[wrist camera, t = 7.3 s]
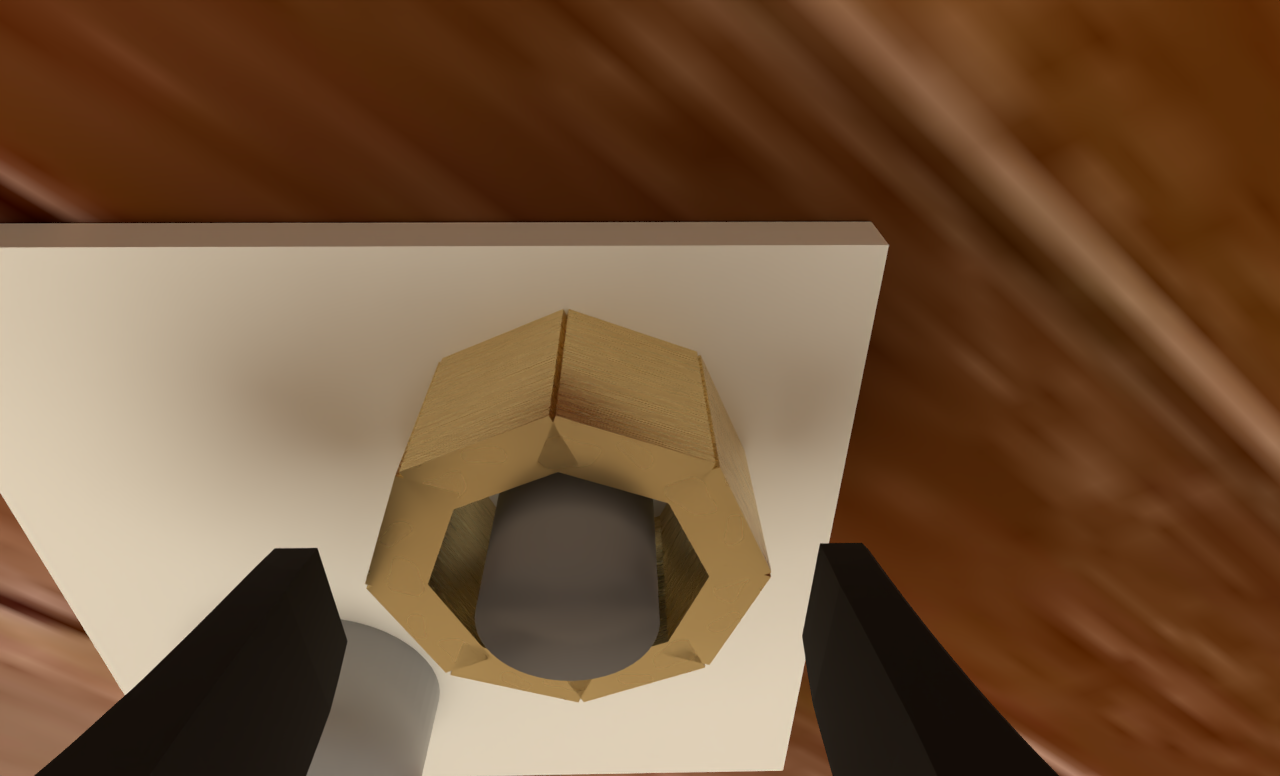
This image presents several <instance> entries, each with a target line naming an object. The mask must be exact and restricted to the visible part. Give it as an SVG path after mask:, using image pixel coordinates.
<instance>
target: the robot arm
mask: <svg viewBox="0 0 1280 776" xmlns="http://www.w3.org/2000/svg"><path fill="white" fill-rule="evenodd" d="M802 639H803V646H804V652H805V659H806V665H807V671H808V677H809V683H810V689H811V695H812V701H813V706H814V710H815V713H816V717H817V721H818V724H819V728H820V732H821V735H822V739H823V743H824V746H825V750H826V753H827V757H828V761H829V764H830V768H831V771H832V775H833V776H1059V775H1058V774H1057V773H1056V772H1055V771H1054V770H1053V769H1052V768H1051V767H1050V766H1049V765H1048V764H1047V763H1046V762H1045V761H1044V760H1043V759H1042V758H1041V757H1040V756H1039V755H1038V754H1037V753H1036V752H1035V751H1034V749H1033V748H1032V747H1031V746H1030V745H1029V744H1028V743H1027V742H1026V741H1025V740H1024V739H1023V738H1022V737H1021V736H1020V735H1019V734H1018V733H1017V731H1016V730H1015V729H1014V728H1013V727H1012V726H1011V725H1010V724H1009V723H1008V722H1007V720H1006V719H1005V718H1004V717H1003V716H1002V715H1001V714H1000V713H999V712H998V711H997V710H996V708H995V707H994V706H993V705H992V704H991V703H990V702H989V701H988V700H987V698H986V697H985V696H984V695H983V694H982V693H981V692H980V690H979V689H978V688H977V687H976V686H975V685H974V683H973V682H972V681H971V680H970V679H969V678H968V676H967V675H966V674H965V673H964V672H963V670H962V669H961V668H960V667H959V666H958V664H957V663H956V662H955V661H954V660H953V658H952V657H951V656H950V655H949V654H948V652H947V651H946V650H945V649H944V648H943V646H942V645H941V644H940V643H939V642H938V640H937V639H936V638H935V637H934V635H933V634H932V633H931V632H930V630H929V629H928V628H927V627H926V625H925V624H924V623H923V622H922V620H921V619H920V618H919V616H918V615H917V614H916V613H915V611H914V610H913V609H912V607H911V606H910V605H909V604H908V602H907V601H906V600H905V598H904V597H903V596H902V594H901V593H900V592H899V590H898V589H897V588H896V586H895V585H894V584H893V582H892V581H891V580H890V578H889V577H888V576H887V574H886V573H885V572H884V570H883V569H882V568H881V566H880V565H879V563H878V562H877V561H876V559H875V558H874V557H873V555H872V554H871V552H870V551H869V550H868V549H867V548H866V547H865V546H864V545H863V544H862V543H820V545H819V551H818V556H817V561H816V566H815V571H814V576H813V582H812V587H811V592H810V597H809V602H808V608H807V613H806V618H805V623H804V628H803V633H802ZM347 642H348V641H347V638H346V635H345V632H344V628H343V625H342V622H341V619H340V616H339V613H338V610H337V607H336V604H335V601H334V598H333V594H332V591H331V588H330V585H329V582H328V579H327V576H326V573H325V570H324V567H323V564H322V560H321V557H320V554H319V551H318V548H274V549H273V550H272V551H271V552H270V553H269V554H268V555H267V556H266V557H265V558H264V559H263V560H262V561H261V562H260V563H259V564H258V565H257V566H256V567H255V568H254V569H253V570H252V571H251V572H250V573H249V574H248V575H247V576H246V577H245V578H244V579H243V580H242V581H241V582H240V583H239V584H238V585H237V586H236V587H235V588H234V589H233V590H232V591H231V592H230V593H229V594H228V595H227V596H226V597H225V598H224V599H223V600H222V601H221V602H220V603H219V604H218V605H217V606H216V607H215V608H214V609H213V610H212V611H211V612H210V613H209V614H208V615H207V616H206V617H205V618H204V619H203V620H202V621H201V622H200V623H199V624H198V625H197V626H196V627H195V628H194V629H193V630H192V631H191V632H190V633H189V634H188V635H187V636H186V637H185V638H184V639H183V640H182V641H181V642H180V643H179V644H178V645H177V646H176V647H175V648H174V649H173V650H172V651H171V652H170V653H169V654H168V655H167V656H166V657H165V658H164V659H163V660H162V661H161V662H160V663H159V664H158V665H157V666H156V667H155V668H153V669H152V670H151V671H150V672H149V673H148V674H147V675H146V676H145V677H144V678H143V679H142V680H141V681H140V682H139V683H138V684H137V685H136V686H135V687H134V688H133V689H132V690H130V691H129V692H128V693H127V694H126V695H125V696H124V697H123V698H122V699H121V700H119V701H118V702H117V703H116V704H115V705H114V706H113V707H112V708H111V709H110V710H108V711H107V712H106V713H105V714H104V715H103V716H102V717H101V718H100V719H99V720H97V721H96V722H95V723H94V724H93V725H92V726H91V727H90V728H89V729H88V730H86V731H85V732H84V733H83V734H82V735H81V736H80V737H79V738H78V739H77V740H75V741H74V742H73V743H72V744H71V745H70V746H69V747H67V748H66V749H65V750H64V751H63V752H62V753H60V754H59V755H58V756H57V757H56V758H55V759H53V760H52V761H51V762H50V763H49V764H48V765H46V766H45V767H44V768H43V769H42V770H40V771H39V772H38V773H37V774H36V775H35V776H306V775H307V773H308V770H309V767H310V765H311V762H312V759H313V757H314V754H315V751H316V749H317V746H318V743H319V741H320V738H321V735H322V733H323V730H324V727H325V724H326V722H327V719H328V716H329V713H330V711H331V707H332V703H333V699H334V695H335V691H336V688H337V684H338V680H339V676H340V672H341V667H342V663H343V659H344V654H345V650H346V646H347Z"/></svg>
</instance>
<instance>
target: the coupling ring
mask: <svg viewBox="0 0 1280 776" xmlns="http://www.w3.org/2000/svg"><path fill="white" fill-rule="evenodd" d="M557 472H560V473H563V474H567V475H570V476H574V477H577V478H581V479H584V480H588V481H591V482H595V483H599V484H602V485H606V486H609V487H613V488H616V489H620V490H623V491H627V492H630V493H634V494H637V495H641V496H645V497H648V498H652V499H655V500H659V501H662V502H666V503H667V504H666V506H665V508H664V509H663V511H662V513H661V515H660V516H658V517H655V518H654V522H655V541H656V560H657V578H658V597H659V616H660V626H659V632H658V635H657V638H656V640H655V642H654V643H653V645H652V647H651V648H650V649H649V650H648V652H647V653H646V654H645V655H644V656H643V657H642V658H640V659H639V660H638V661H636V662H635V663H634V664H632V665H630V666H629V667H627V668H625V669H623V670H621V671H618V672H616V673H613V674H610V675H607V676H604V677H599V678H595V679H588V680H578V681H560V680H551V679H545V678H540V677H536V676H532V675H528V674H526V673H523V672H520V671H518V670H516V669H514V668H512V667H510V666H508V665H506V664H505V663H503V662H501V661H500V660H499V659H497V658H496V657H495V656H494V655H492V653H491V652H490V651H489V650H488V649H487V648H486V647H485V645H484V644H483V643H482V641H481V639H480V637H479V635H478V633H477V630H476V626H475V611H476V605H477V600H478V595H479V590H480V585H481V580H482V575H483V570H484V565H485V560H486V555H487V550H488V545H489V540H490V535H491V530H492V525H493V521H494V516H495V511H496V506H495V505H494V503H493V502H492V501H491V499H490V498H489V497H490V496H492V495H495V494H498V493H501V492H503V491H506V490H509V489H512V488H515V487H517V486H520V485H523V484H526V483H529V482H531V481H534V480H537V479H540V478H543V477H545V476H548V475H551V474H554V473H557ZM770 573H771V568H770V564H769V559H768V555H767V550H766V545H765V541H764V536H763V532H762V527H761V523H760V518H759V514H758V509H757V505H756V500H755V496H754V491H753V487H752V482H751V478H750V473H749V468H748V464H747V459H746V455H745V451H744V449H743V446H742V444H741V442H740V440H739V438H738V435H737V433H736V431H735V429H734V427H733V424H732V422H731V420H730V418H729V416H728V413H727V411H726V409H725V407H724V405H723V403H722V400H721V398H720V396H719V394H718V392H717V389H716V387H715V385H714V383H713V381H712V378H711V376H710V374H709V372H708V370H707V367H706V365H705V363H704V361H703V359H702V357H701V355H699V356H698V355H697V351H694V350H691V349H688V348H685V347H682V346H679V345H676V344H673V343H670V342H667V341H664V340H661V339H658V338H655V337H652V336H649V335H646V334H643V333H640V332H637V331H634V330H631V329H628V328H625V327H622V326H619V325H616V324H613V323H610V322H607V321H604V320H601V319H598V318H595V317H592V316H589V315H586V314H583V313H580V312H577V311H574V310H571V309H569V310H568V313H567V315H566V313H565V311H564V310H563V309H562V310H560V311H557V312H555V313H552V314H550V315H547V316H545V317H542V318H540V319H538V320H535V321H533V322H530V323H528V324H525V325H523V326H520V327H518V328H515V329H513V330H511V331H508V332H506V333H503V334H501V335H498V336H496V337H493V338H491V339H488V340H486V341H483V342H481V343H479V344H476V345H474V346H471V347H469V348H466V349H464V350H461V351H459V352H456V353H454V354H452V355H449V356H447V357H444V358H442V360H441V362H439V363H438V365H437V368H436V370H435V373H434V376H433V378H432V381H431V383H430V386H429V389H428V391H427V394H426V396H425V399H424V402H423V404H422V407H421V409H420V412H419V415H418V417H417V420H416V422H415V425H414V428H413V430H412V433H411V436H410V438H409V441H408V443H407V446H406V449H405V451H404V454H403V456H402V459H401V462H400V464H399V467H398V469H397V472H396V475H395V478H394V481H393V485H392V488H391V492H390V495H389V499H388V503H387V506H386V510H385V513H384V517H383V521H382V524H381V528H380V531H379V535H378V539H377V542H376V546H375V549H374V553H373V556H372V560H371V564H370V567H369V571H368V574H367V578H366V582H365V584H366V585H367V587H366V589H367V590H368V591H369V592H370V593H371V594H372V595H373V596H374V597H375V598H376V599H377V600H378V602H379V603H380V604H381V605H382V606H383V607H384V608H385V609H386V610H387V611H388V612H389V613H390V614H391V615H392V616H393V617H394V618H395V620H396V621H397V622H398V623H399V624H400V625H401V626H402V627H403V628H404V629H405V630H406V631H407V632H408V633H409V634H410V635H411V637H412V638H413V639H414V640H415V641H416V642H417V643H418V644H419V645H420V646H421V647H422V648H423V649H424V650H425V651H426V652H427V654H428V655H429V656H430V657H431V658H432V659H433V660H434V661H435V662H436V663H437V664H438V665H439V666H440V667H441V668H442V669H443V670H444V672H445V673H447V672H450V671H451V674H450V675H452V676H457V677H461V678H466V679H471V680H475V681H480V682H485V683H489V684H494V685H499V686H503V687H508V688H513V689H518V690H522V691H527V692H532V693H536V694H541V695H546V696H550V697H555V698H560V699H564V700H569V701H574V702H579V701H580V699H582V701H583V702H587V701H590V700H594V699H597V698H601V697H604V696H608V695H611V694H615V693H618V692H622V691H625V690H629V689H632V688H636V687H639V686H643V685H646V684H650V683H653V682H657V681H660V680H664V679H667V678H671V677H674V676H678V675H681V674H685V673H688V672H692V671H695V670H699V669H702V668H705V664H707V665H710V664H711V662H712V661H713V659H714V658H715V656H716V655H717V654H718V652H719V651H720V649H721V648H722V646H723V645H724V643H725V642H726V641H727V639H728V638H729V636H730V635H731V633H732V632H733V631H734V629H735V628H736V626H737V625H738V623H739V622H740V621H741V619H742V618H743V616H744V615H745V613H746V612H747V611H748V609H749V608H750V606H751V605H752V603H753V602H754V601H755V599H756V598H757V596H758V595H759V593H760V592H761V591H762V589H763V588H764V586H765V585H766V583H767V582H768V581H769V579H770V578H771V574H770Z"/></svg>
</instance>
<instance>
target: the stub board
mask: <svg viewBox="0 0 1280 776" xmlns="http://www.w3.org/2000/svg"><path fill="white" fill-rule="evenodd" d="M888 247H889V244H888V243H887V242H886V240H885V239H884V238H883V236H882V235H881V234H880V233H879V231H878V230H877V229H876V227H875V226H874V225H873V223H872V222H456V223H0V493H1V495H2V496H3V498H4V500H5V501H6V503H7V504H8V506H9V508H10V509H11V511H12V513H13V514H14V516H15V517H16V519H17V521H18V522H19V524H20V526H21V527H22V529H23V530H24V532H25V534H26V535H27V537H28V539H29V540H30V542H31V543H32V545H33V547H34V548H35V550H36V552H37V553H38V555H39V556H40V558H41V560H42V561H43V563H44V565H45V566H46V568H47V569H48V571H49V573H50V574H51V576H52V578H53V579H54V581H55V582H56V584H57V586H58V587H59V589H60V591H61V592H62V594H63V595H64V597H65V599H66V600H67V602H68V604H69V605H70V607H71V608H72V610H73V612H74V613H75V615H76V617H77V618H78V620H79V621H80V623H81V625H82V626H83V628H84V630H85V631H86V633H87V635H88V636H89V638H90V639H91V641H92V643H93V644H94V646H95V648H96V649H97V651H98V652H99V654H100V656H101V657H102V659H103V661H104V662H105V664H106V665H107V667H108V669H109V670H110V672H111V674H112V675H113V677H114V678H115V680H116V682H117V683H118V685H119V687H120V688H121V690H122V691H123V693H124V695H126V694H127V693H128V692H129V691H130V690H132V689H133V688H134V687H135V686H136V685H137V684H138V683H139V682H140V681H141V680H142V679H143V678H144V677H145V676H146V675H147V674H148V673H149V672H150V671H151V670H152V669H153V668H155V667H156V666H157V665H158V664H159V663H160V662H161V661H162V660H163V659H164V658H165V657H166V656H167V655H168V654H169V653H170V652H171V651H172V650H173V649H174V648H175V647H176V646H177V645H178V644H179V643H180V642H181V641H182V640H183V639H184V638H185V637H186V636H187V635H188V634H189V633H190V632H191V631H192V630H193V629H194V628H195V627H196V626H197V625H198V624H199V623H200V622H201V621H202V620H203V619H204V618H205V617H206V616H207V615H208V614H209V613H210V612H211V611H212V610H213V609H214V608H215V607H216V606H217V605H218V604H219V603H220V602H221V601H222V600H223V599H224V598H225V597H226V596H227V595H228V594H229V593H230V592H231V591H232V590H233V589H234V588H235V587H236V586H237V585H238V584H239V583H240V582H241V581H242V580H243V579H244V578H245V577H246V576H247V575H248V574H249V573H250V572H251V571H252V570H253V569H254V568H255V567H256V566H257V565H258V564H259V563H260V562H261V561H262V560H263V559H264V558H265V557H266V556H267V555H268V554H269V553H270V552H271V551H272V550H273V549H274V548H318V551H319V554H320V557H321V560H322V564H323V567H324V570H325V573H326V576H327V579H328V582H329V585H330V588H331V591H332V594H333V598H334V601H335V604H336V607H337V610H338V613H339V616H340V619H341V622H342V625H343V628H344V632H345V635H346V638H347V641H348V642H347V646H346V650H345V654H344V659H343V663H342V667H341V672H340V676H339V680H338V684H337V688H336V691H335V695H334V699H333V703H332V707H331V711H330V713H329V716H328V719H327V722H326V724H325V727H324V730H323V733H322V735H321V738H320V741H319V743H318V746H317V749H316V751H315V754H314V757H313V759H312V762H311V765H310V767H309V770H308V773H307V775H306V776H505V775H562V774H618V773H674V772H730V771H783V768H784V763H785V758H786V753H787V748H788V743H789V738H790V733H791V728H792V723H793V718H794V713H795V708H796V703H797V698H798V693H799V688H800V683H801V678H802V673H803V668H804V663H805V652H804V646H803V639H802V633H803V628H804V623H805V618H806V613H807V608H808V602H809V597H810V592H811V587H812V582H813V576H814V571H815V566H816V561H817V556H818V551H819V545H820V543H829V540H830V535H831V530H832V525H833V520H834V515H835V510H836V505H837V500H838V495H839V490H840V485H841V480H842V475H843V470H844V465H845V460H846V455H847V450H848V445H849V440H850V436H851V431H852V426H853V421H854V416H855V411H856V406H857V401H858V396H859V391H860V386H861V381H862V376H863V371H864V366H865V361H866V356H867V351H868V346H869V341H870V336H871V331H872V327H873V322H874V317H875V312H876V307H877V302H878V297H879V292H880V287H881V282H882V277H883V272H884V267H885V262H886V257H887V252H888ZM562 309H563V310H564V311H565V313H566V315H567V313H568V310H569V309H571V310H574V311H577V312H580V313H583V314H586V315H589V316H592V317H595V318H598V319H601V320H604V321H607V322H610V323H613V324H616V325H619V326H622V327H625V328H628V329H631V330H634V331H637V332H640V333H643V334H646V335H649V336H652V337H655V338H658V339H661V340H664V341H667V342H670V343H673V344H676V345H679V346H682V347H685V348H688V349H691V350H694V351H697V355H698V356H699V355H701V357H702V359H703V361H704V363H705V365H706V367H707V370H708V372H709V374H710V376H711V378H712V381H713V383H714V385H715V387H716V389H717V392H718V394H719V396H720V398H721V400H722V403H723V405H724V407H725V409H726V411H727V413H728V416H729V418H730V420H731V422H732V424H733V427H734V429H735V431H736V433H737V435H738V438H739V440H740V442H741V444H742V446H743V449H744V451H745V455H746V459H747V464H748V468H749V473H750V478H751V482H752V487H753V491H754V496H755V500H756V505H757V509H758V514H759V518H760V523H761V527H762V532H763V536H764V541H765V545H766V550H767V555H768V559H769V564H770V568H771V573H770V574H771V578H770V579H769V581H768V582H767V583H766V585H765V586H764V588H763V589H762V591H761V592H760V593H759V595H758V596H757V598H756V599H755V601H754V602H753V603H752V605H751V606H750V608H749V609H748V611H747V612H746V613H745V615H744V616H743V618H742V619H741V621H740V622H739V623H738V625H737V626H736V628H735V629H734V631H733V632H732V633H731V635H730V636H729V638H728V639H727V641H726V642H725V643H724V645H723V646H722V648H721V649H720V651H719V652H718V654H717V655H716V656H715V658H714V659H713V661H712V662H711V664H710V665H707V664H705V668H702V669H699V670H695V671H692V672H688V673H685V674H681V675H678V676H674V677H671V678H667V679H664V680H660V681H657V682H653V683H650V684H646V685H643V686H639V687H636V688H632V689H629V690H625V691H622V692H618V693H615V694H611V695H608V696H604V697H601V698H597V699H594V700H590V701H587V702H583V701H582V699H580V701H579V702H574V701H569V700H564V699H560V698H555V697H550V696H546V695H541V694H536V693H532V692H527V691H522V690H518V689H513V688H508V687H503V686H499V685H494V684H489V683H485V682H480V681H475V680H471V679H466V678H461V677H457V676H452V675H450V674H451V671H450V672H447V673H445V672H444V670H443V669H442V668H441V667H440V666H439V665H438V664H437V663H436V662H435V661H434V660H433V659H432V658H431V657H430V656H429V655H428V654H427V652H426V651H425V650H424V649H423V648H422V647H421V646H420V645H419V644H418V643H417V642H416V641H415V640H414V639H413V638H412V637H411V635H410V634H409V633H408V632H407V631H406V630H405V629H404V628H403V627H402V626H401V625H400V624H399V623H398V622H397V621H396V620H395V618H394V617H393V616H392V615H391V614H390V613H389V612H388V611H387V610H386V609H385V608H384V607H383V606H382V605H381V604H380V603H379V602H378V600H377V599H376V598H375V597H374V596H373V595H372V594H371V593H370V592H369V591H368V590H367V589H366V587H367V585H366V584H365V582H366V578H367V574H368V571H369V567H370V564H371V560H372V556H373V553H374V549H375V546H376V542H377V539H378V535H379V531H380V528H381V524H382V521H383V517H384V513H385V510H386V506H387V503H388V499H389V495H390V492H391V488H392V485H393V481H394V478H395V475H396V472H397V469H398V467H399V464H400V462H401V459H402V456H403V454H404V451H405V449H406V446H407V443H408V441H409V438H410V436H411V433H412V430H413V428H414V425H415V422H416V420H417V417H418V415H419V412H420V409H421V407H422V404H423V402H424V399H425V396H426V394H427V391H428V389H429V386H430V383H431V381H432V378H433V376H434V373H435V370H436V368H437V365H438V363H439V362H441V360H442V358H444V357H447V356H449V355H452V354H454V353H456V352H459V351H461V350H464V349H466V348H469V347H471V346H474V345H476V344H479V343H481V342H483V341H486V340H488V339H491V338H493V337H496V336H498V335H501V334H503V333H506V332H508V331H511V330H513V329H515V328H518V327H520V326H523V325H525V324H528V323H530V322H533V321H535V320H538V319H540V318H542V317H545V316H547V315H550V314H552V313H555V312H557V311H560V310H562ZM489 498H490V499H491V501H492V502H493V503H494V505H495V506H496V511H495V516H494V521H493V525H492V530H491V535H490V540H489V545H488V550H487V555H486V560H485V565H484V570H483V575H482V580H481V585H480V590H479V595H478V600H477V605H476V611H475V626H476V630H477V633H478V635H479V637H480V639H481V641H482V643H483V644H484V645H485V647H486V648H487V649H488V650H489V651H490V652H491V653H492V655H494V656H495V657H496V658H497V659H499V660H500V661H501V662H503V663H505V664H506V665H508V666H510V667H512V668H514V669H516V670H518V671H520V672H523V673H526V674H528V675H532V676H536V677H540V678H545V679H551V680H560V681H578V680H588V679H595V678H599V677H604V676H607V675H610V674H613V673H616V672H618V671H621V670H623V669H625V668H627V667H629V666H630V665H632V664H634V663H635V662H636V661H638V660H639V659H640V658H642V657H643V656H644V655H645V654H646V653H647V652H648V650H649V649H650V648H651V647H652V645H653V643H654V642H655V640H656V638H657V635H658V632H659V626H660V616H659V597H658V578H657V560H656V541H655V522H654V518H655V517H658V516H660V515H661V513H662V511H663V509H664V508H665V506H666V504H667V503H666V502H662V501H659V500H655V499H652V498H648V497H645V496H641V495H637V494H634V493H630V492H627V491H623V490H620V489H616V488H613V487H609V486H606V485H602V484H599V483H595V482H591V481H588V480H584V479H581V478H577V477H574V476H570V475H567V474H563V473H560V472H557V473H554V474H551V475H548V476H545V477H543V478H540V479H537V480H534V481H531V482H529V483H526V484H523V485H520V486H517V487H515V488H512V489H509V490H506V491H503V492H501V493H498V494H495V495H492V496H490V497H489Z"/></svg>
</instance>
